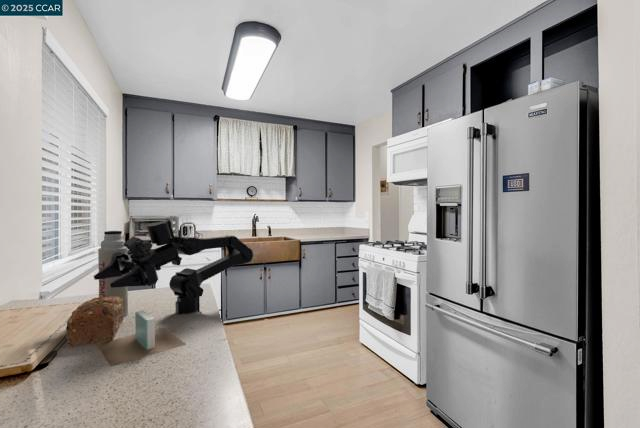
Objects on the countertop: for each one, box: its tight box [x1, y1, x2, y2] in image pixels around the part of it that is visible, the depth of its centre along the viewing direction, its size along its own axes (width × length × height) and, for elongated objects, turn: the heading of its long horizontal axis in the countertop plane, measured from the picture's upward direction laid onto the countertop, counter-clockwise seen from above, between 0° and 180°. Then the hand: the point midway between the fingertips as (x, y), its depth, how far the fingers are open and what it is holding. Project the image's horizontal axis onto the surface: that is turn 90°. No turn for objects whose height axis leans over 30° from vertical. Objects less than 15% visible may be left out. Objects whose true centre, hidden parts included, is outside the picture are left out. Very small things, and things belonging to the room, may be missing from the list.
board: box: [95, 326, 187, 367], centre depth 79 cm, size 16×16×1 cm
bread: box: [65, 296, 124, 347], centre depth 87 cm, size 19×11×10 cm, turn 24°
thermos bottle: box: [97, 230, 129, 318], centre depth 104 cm, size 8×8×28 cm
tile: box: [134, 309, 156, 350], centre depth 79 cm, size 2×9×7 cm, turn 45°
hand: (102, 281), depth 84 cm, fingers open, 9 cm apart
